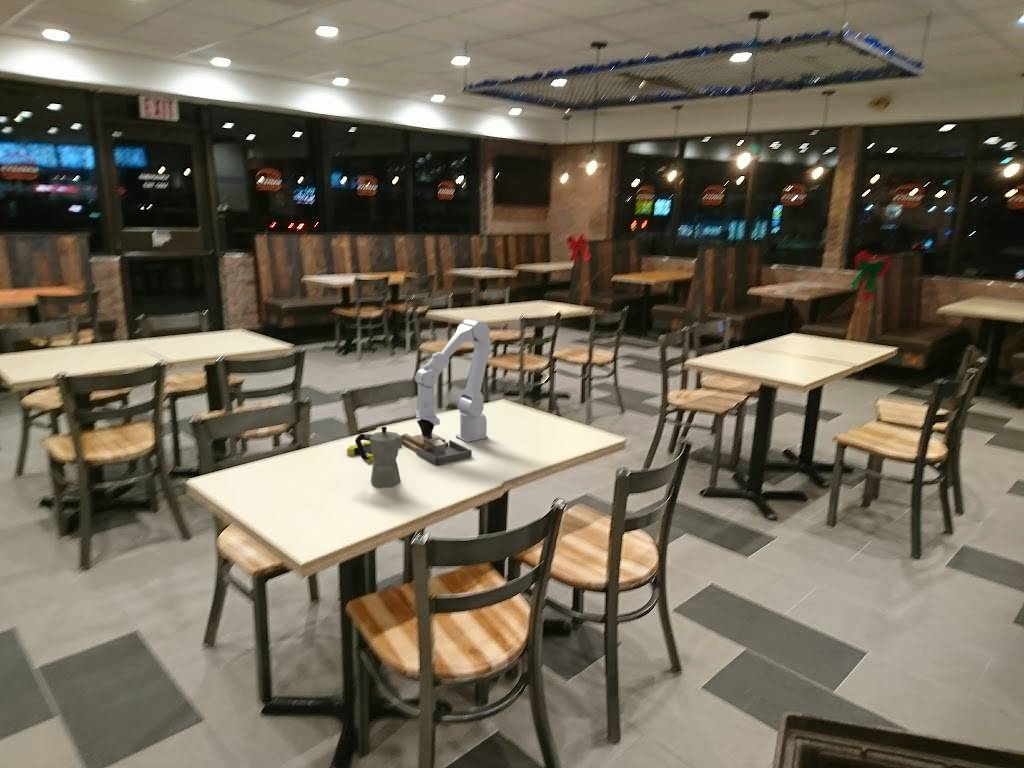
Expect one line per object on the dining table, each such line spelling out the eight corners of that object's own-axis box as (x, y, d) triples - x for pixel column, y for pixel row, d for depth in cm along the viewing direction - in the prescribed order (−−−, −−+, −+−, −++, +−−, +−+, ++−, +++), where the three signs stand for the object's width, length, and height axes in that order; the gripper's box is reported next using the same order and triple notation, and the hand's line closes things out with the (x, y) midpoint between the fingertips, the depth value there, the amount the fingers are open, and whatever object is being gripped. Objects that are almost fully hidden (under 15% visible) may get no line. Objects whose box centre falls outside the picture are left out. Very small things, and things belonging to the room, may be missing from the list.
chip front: (439, 447, 235) (439, 439, 234) (445, 451, 232) (445, 443, 231) (429, 449, 232) (429, 441, 231) (435, 453, 229) (435, 446, 228)
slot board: (428, 436, 248) (428, 429, 248) (448, 446, 237) (448, 439, 237) (399, 442, 241) (399, 434, 240) (418, 453, 230) (418, 445, 230)
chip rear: (433, 442, 237) (433, 434, 237) (439, 445, 234) (439, 437, 234) (423, 444, 235) (423, 436, 234) (429, 447, 232) (429, 439, 231)
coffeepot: (409, 477, 210) (408, 422, 205) (404, 488, 201) (403, 432, 196) (360, 476, 210) (358, 421, 205) (353, 488, 200) (351, 431, 196)
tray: (450, 446, 238) (450, 440, 238) (471, 457, 228) (471, 450, 227) (416, 454, 230) (416, 447, 229) (436, 465, 220) (436, 458, 219)
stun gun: (414, 445, 232) (390, 434, 242) (367, 457, 219) (343, 446, 229) (415, 453, 233) (390, 442, 243) (367, 465, 219) (343, 454, 230)
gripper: (406, 399, 237) (407, 436, 240) (426, 409, 226) (427, 447, 229) (423, 396, 241) (424, 432, 244) (444, 406, 230) (445, 443, 233)
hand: (427, 439), depth 237 cm, fingers closed
